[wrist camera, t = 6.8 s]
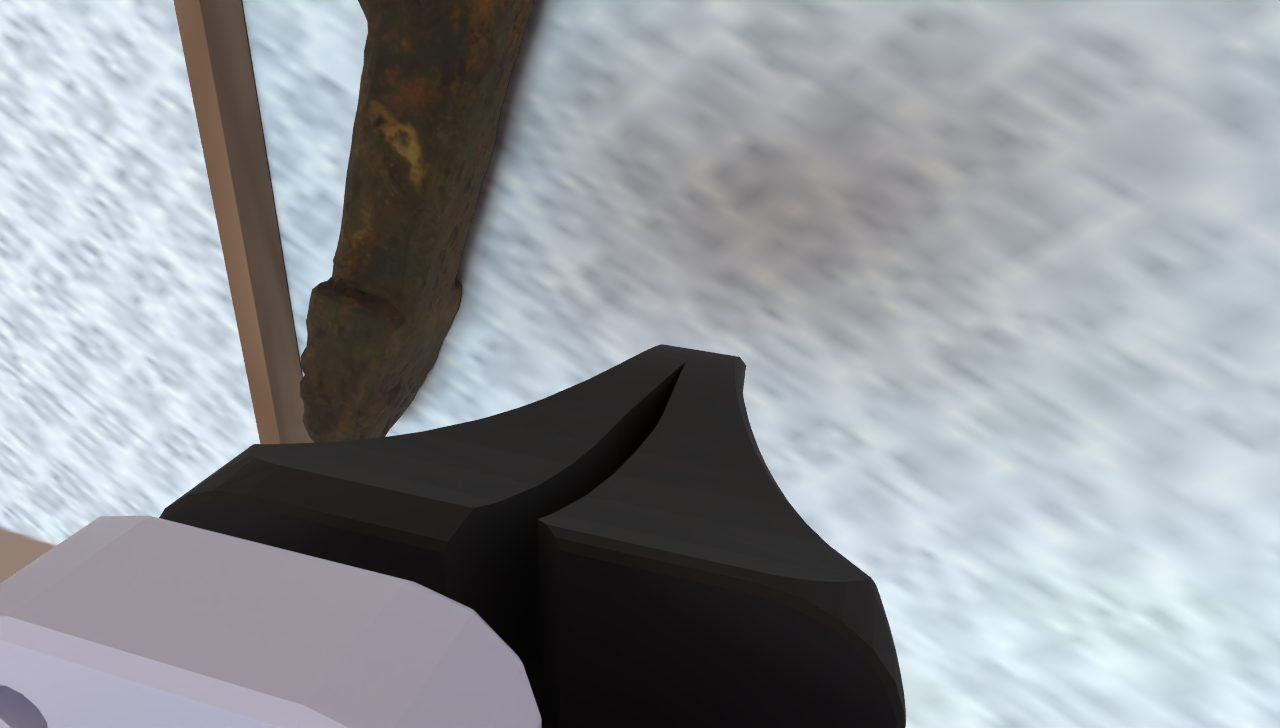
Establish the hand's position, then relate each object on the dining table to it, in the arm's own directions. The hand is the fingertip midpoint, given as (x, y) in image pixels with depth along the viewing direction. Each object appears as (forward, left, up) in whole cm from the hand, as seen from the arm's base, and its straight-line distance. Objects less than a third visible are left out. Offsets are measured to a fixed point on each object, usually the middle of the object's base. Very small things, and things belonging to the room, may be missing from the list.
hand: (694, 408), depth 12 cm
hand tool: (+8, -1, -10) cm, 13 cm away
